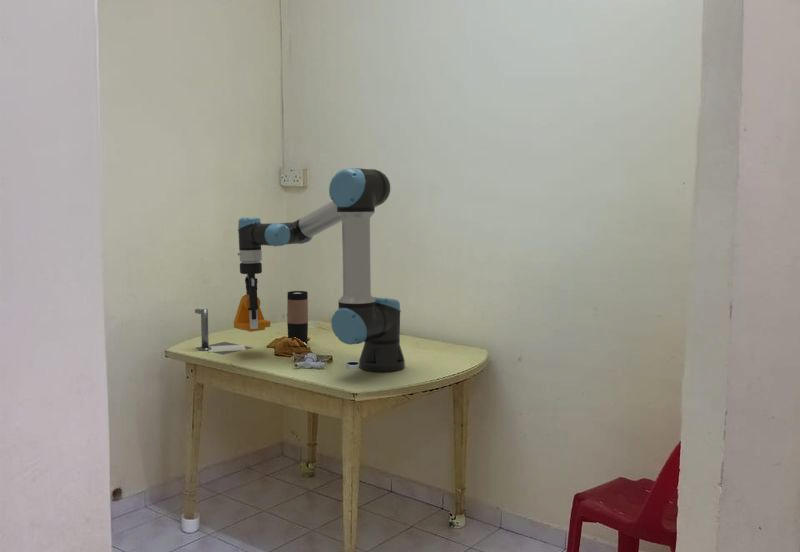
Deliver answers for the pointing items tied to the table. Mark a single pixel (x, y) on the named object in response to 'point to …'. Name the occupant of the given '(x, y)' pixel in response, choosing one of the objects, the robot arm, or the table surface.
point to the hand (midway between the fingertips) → (252, 326)
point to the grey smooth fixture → (204, 329)
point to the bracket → (243, 316)
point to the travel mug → (297, 315)
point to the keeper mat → (226, 348)
